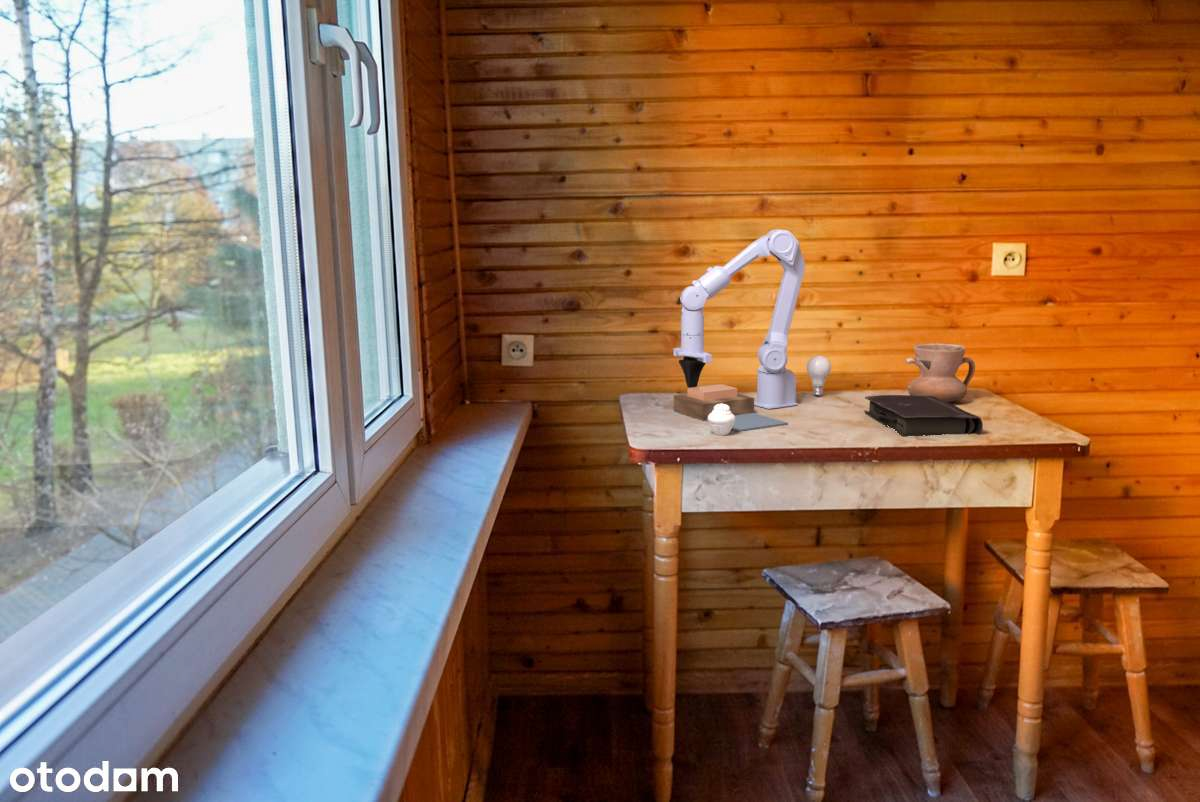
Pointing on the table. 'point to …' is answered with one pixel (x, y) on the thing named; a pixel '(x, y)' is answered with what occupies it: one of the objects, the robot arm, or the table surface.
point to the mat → (754, 422)
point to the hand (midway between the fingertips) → (692, 387)
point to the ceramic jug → (940, 371)
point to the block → (712, 392)
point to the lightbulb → (818, 372)
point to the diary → (921, 415)
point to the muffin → (721, 419)
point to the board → (712, 405)
